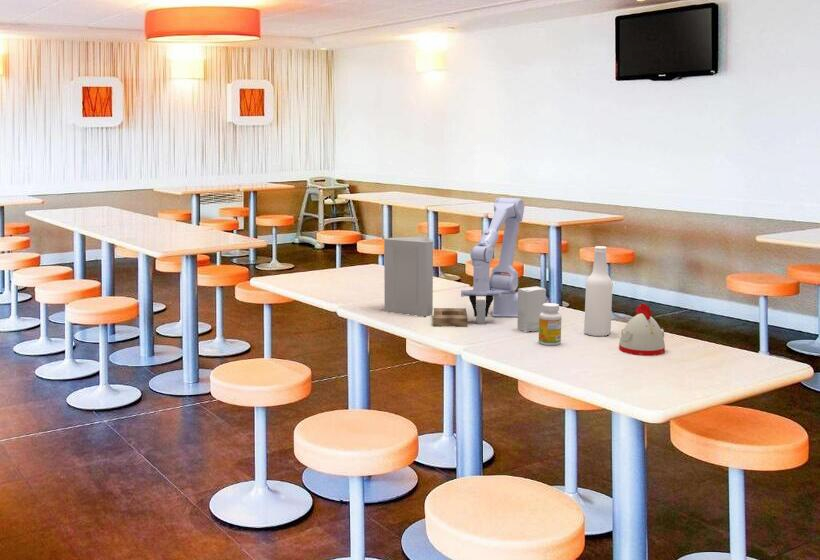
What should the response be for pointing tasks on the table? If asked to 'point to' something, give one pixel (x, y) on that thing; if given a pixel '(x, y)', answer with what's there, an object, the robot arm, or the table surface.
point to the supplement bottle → (550, 325)
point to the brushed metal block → (480, 311)
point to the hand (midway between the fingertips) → (480, 316)
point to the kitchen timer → (642, 334)
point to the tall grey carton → (409, 275)
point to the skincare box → (530, 307)
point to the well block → (450, 317)
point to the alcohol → (598, 297)
